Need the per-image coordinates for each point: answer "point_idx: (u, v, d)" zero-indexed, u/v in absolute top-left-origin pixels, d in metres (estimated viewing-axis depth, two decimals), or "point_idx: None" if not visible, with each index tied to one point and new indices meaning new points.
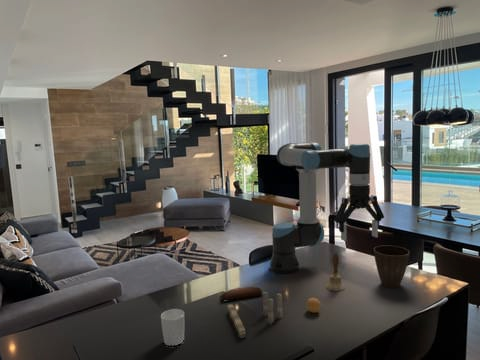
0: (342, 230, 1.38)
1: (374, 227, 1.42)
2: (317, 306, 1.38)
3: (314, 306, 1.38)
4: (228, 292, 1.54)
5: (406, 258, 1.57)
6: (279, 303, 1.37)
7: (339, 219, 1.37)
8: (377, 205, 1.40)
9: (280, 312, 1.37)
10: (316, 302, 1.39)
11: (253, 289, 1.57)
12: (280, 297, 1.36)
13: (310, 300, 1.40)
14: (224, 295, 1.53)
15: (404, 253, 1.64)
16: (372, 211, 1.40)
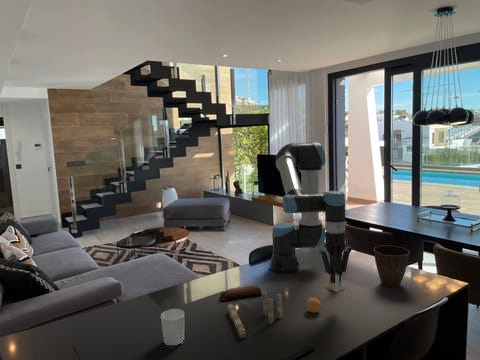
0: (333, 281, 1.41)
1: None
2: (317, 306, 1.38)
3: (314, 306, 1.38)
4: (227, 291, 1.55)
5: (406, 258, 1.57)
6: (279, 303, 1.37)
7: (329, 271, 1.39)
8: (347, 257, 1.41)
9: (280, 312, 1.37)
10: (316, 302, 1.39)
11: (252, 289, 1.57)
12: (280, 297, 1.36)
13: (310, 300, 1.40)
14: (223, 294, 1.54)
15: (404, 253, 1.64)
16: (340, 262, 1.40)
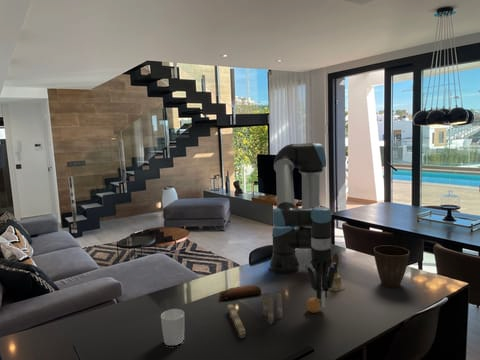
0: (319, 297, 1.40)
1: None
2: (317, 306, 1.38)
3: (314, 306, 1.38)
4: (227, 290, 1.56)
5: (406, 258, 1.57)
6: (279, 303, 1.37)
7: (315, 287, 1.39)
8: (333, 273, 1.40)
9: (280, 312, 1.37)
10: (316, 302, 1.39)
11: (252, 288, 1.58)
12: (280, 297, 1.36)
13: (310, 300, 1.40)
14: (223, 293, 1.54)
15: (404, 253, 1.64)
16: (325, 278, 1.40)
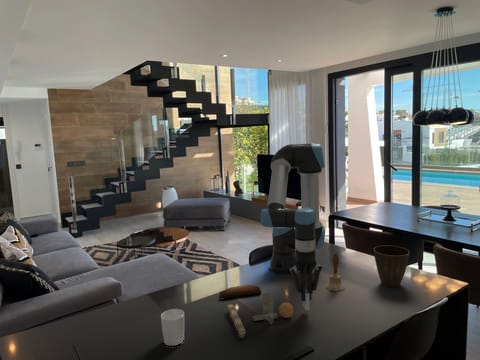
0: (303, 299, 1.39)
1: None
2: (289, 315, 1.35)
3: (291, 313, 1.36)
4: (227, 290, 1.56)
5: (406, 258, 1.57)
6: None
7: (299, 289, 1.37)
8: (317, 275, 1.39)
9: None
10: (289, 316, 1.37)
11: (252, 288, 1.58)
12: None
13: None
14: (223, 293, 1.55)
15: (404, 253, 1.64)
16: (310, 280, 1.38)
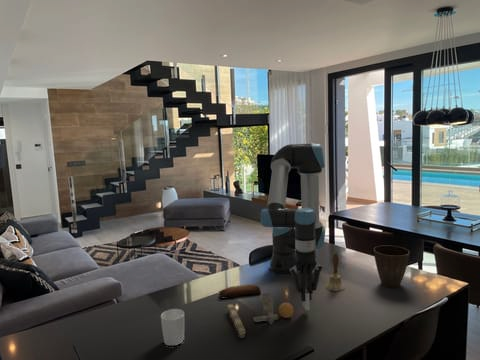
0: (303, 299, 1.39)
1: None
2: (289, 315, 1.35)
3: (291, 313, 1.36)
4: (227, 289, 1.57)
5: (406, 258, 1.57)
6: None
7: (299, 289, 1.37)
8: (317, 275, 1.39)
9: None
10: (289, 316, 1.37)
11: (251, 287, 1.59)
12: None
13: None
14: (222, 292, 1.56)
15: (404, 253, 1.64)
16: (310, 280, 1.38)
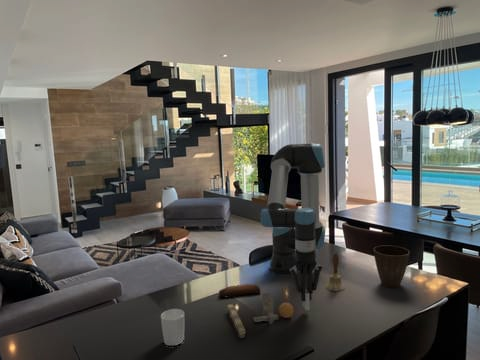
0: (303, 299, 1.39)
1: None
2: (289, 315, 1.35)
3: (291, 313, 1.36)
4: (226, 288, 1.58)
5: (406, 258, 1.57)
6: None
7: (299, 289, 1.38)
8: (317, 275, 1.39)
9: None
10: (289, 316, 1.37)
11: (251, 287, 1.59)
12: None
13: None
14: (222, 291, 1.57)
15: (404, 253, 1.64)
16: (310, 280, 1.38)
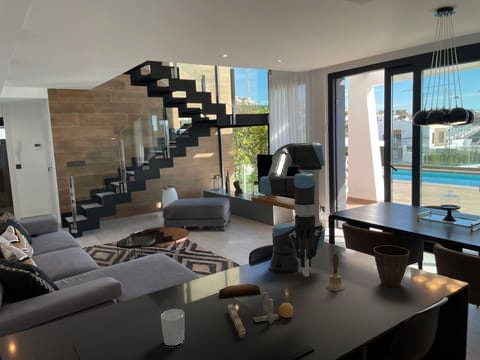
0: (303, 265, 1.37)
1: None
2: (289, 315, 1.35)
3: (291, 313, 1.36)
4: (226, 288, 1.58)
5: (406, 258, 1.57)
6: None
7: (298, 255, 1.36)
8: (317, 241, 1.37)
9: None
10: (289, 316, 1.37)
11: (251, 286, 1.60)
12: None
13: None
14: (222, 291, 1.57)
15: (404, 253, 1.64)
16: (309, 246, 1.37)
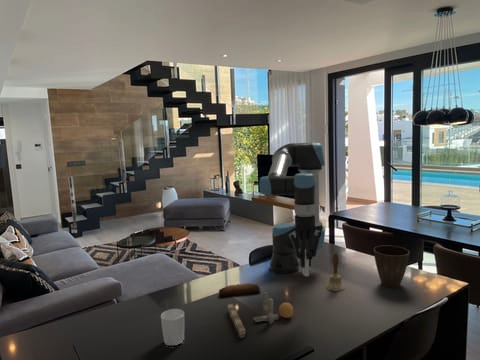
0: (303, 265, 1.37)
1: None
2: (289, 315, 1.35)
3: (291, 313, 1.36)
4: (226, 287, 1.59)
5: (406, 258, 1.57)
6: None
7: (298, 255, 1.36)
8: (317, 241, 1.37)
9: None
10: (289, 316, 1.37)
11: (251, 286, 1.60)
12: None
13: None
14: (222, 290, 1.58)
15: (404, 253, 1.64)
16: (309, 246, 1.37)
